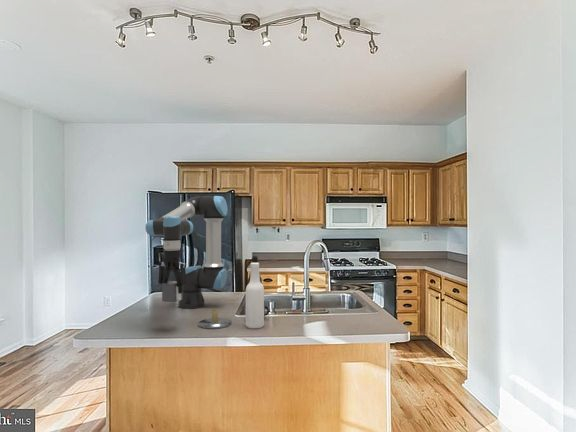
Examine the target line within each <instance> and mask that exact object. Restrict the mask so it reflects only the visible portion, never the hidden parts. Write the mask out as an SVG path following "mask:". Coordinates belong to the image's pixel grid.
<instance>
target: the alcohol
mask: <svg viewBox="0 0 576 432" xmlns="http://www.w3.org/2000/svg"><path fill="white" fill-rule="evenodd" d="M260 276H261V275H260V262H258V263H252V262H251V263H250V275H249V277H250V282H249V284H248V283H247V285H246V288H245V327H246V328H247V329H251V330H252V329H254V330H255V329H261V328H263V327H264V325H265V319H264V301H265V288H264V285H263V284H261V282H260Z"/></svg>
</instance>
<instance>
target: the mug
mask: <svg viewBox="0 0 576 432" xmlns="http://www.w3.org/2000/svg"><path fill="white" fill-rule="evenodd" d="M269 312H270V309H269V307H268V306H266V301H265V300H264V320H265V319H266V316H268V315H269Z"/></svg>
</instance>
